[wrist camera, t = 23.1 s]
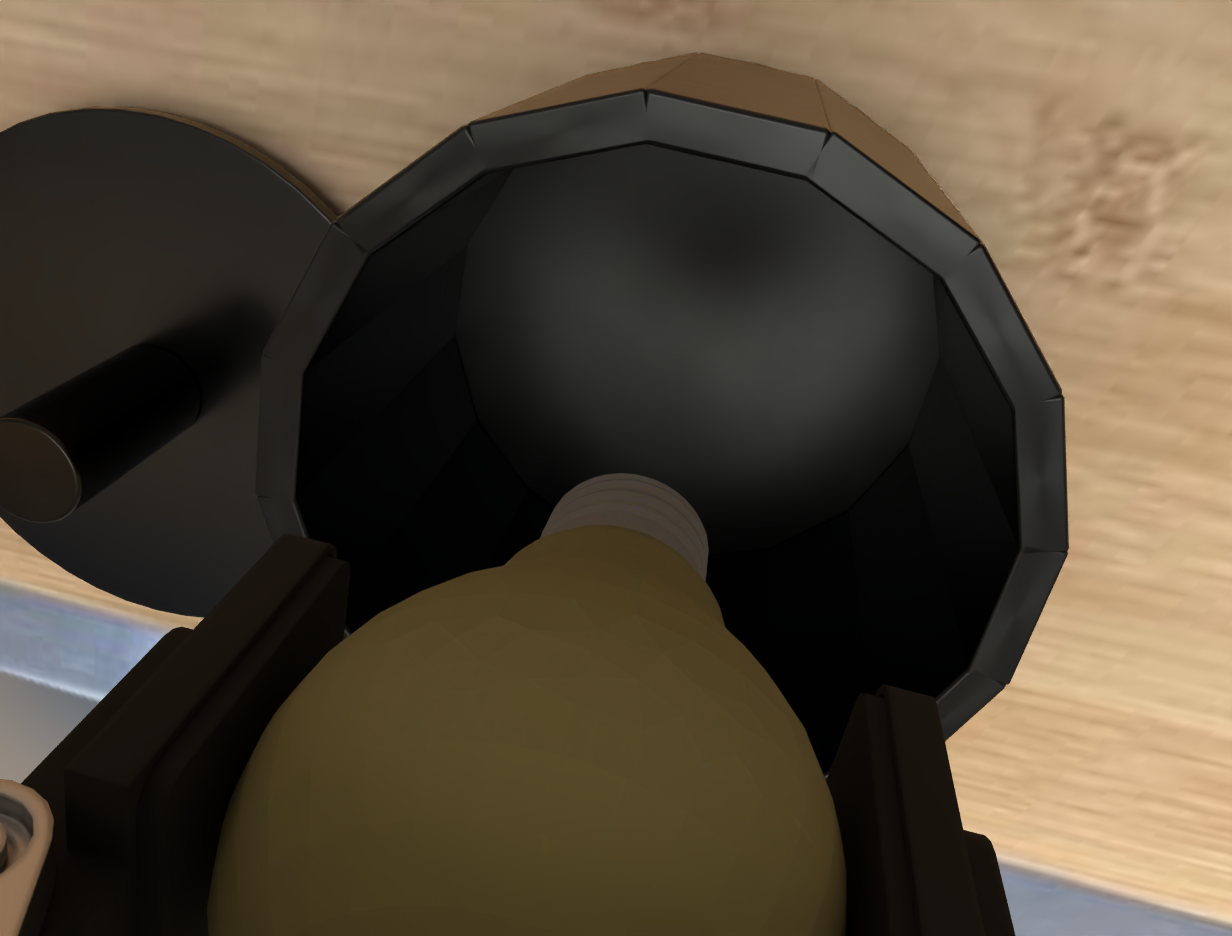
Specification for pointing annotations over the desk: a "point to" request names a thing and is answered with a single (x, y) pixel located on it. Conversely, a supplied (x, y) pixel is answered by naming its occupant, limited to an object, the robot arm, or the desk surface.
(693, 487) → the trash can
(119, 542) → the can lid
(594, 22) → the desk surface
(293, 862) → the light bulb
